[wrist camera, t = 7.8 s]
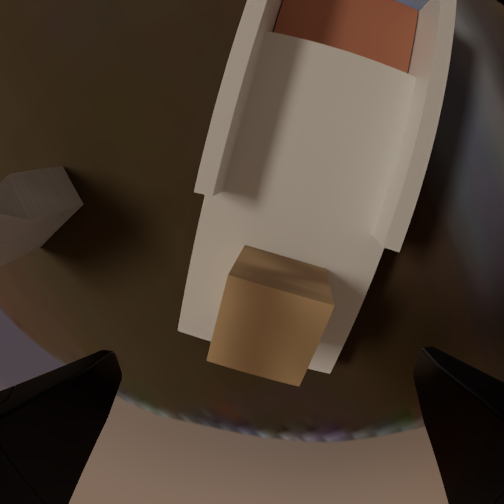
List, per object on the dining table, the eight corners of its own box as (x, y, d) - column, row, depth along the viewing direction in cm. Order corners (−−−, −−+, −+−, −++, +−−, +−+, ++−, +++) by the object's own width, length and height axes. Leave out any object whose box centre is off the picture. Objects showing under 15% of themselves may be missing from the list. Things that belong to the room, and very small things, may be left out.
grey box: (84, 204, 22) (-15, 237, 13) (40, 247, 24) (-44, 289, 14) (63, 166, 21) (-37, 183, 12) (22, 212, 23) (-64, 243, 14)
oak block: (325, 268, 19) (334, 305, 14) (299, 337, 21) (299, 386, 16) (244, 244, 19) (228, 274, 14) (225, 316, 21) (206, 360, 16)
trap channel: (431, 18, 15) (456, -6, 11) (328, 357, 23) (332, 396, 19) (276, -30, 15) (271, -65, 11) (186, 317, 24) (165, 349, 19)
